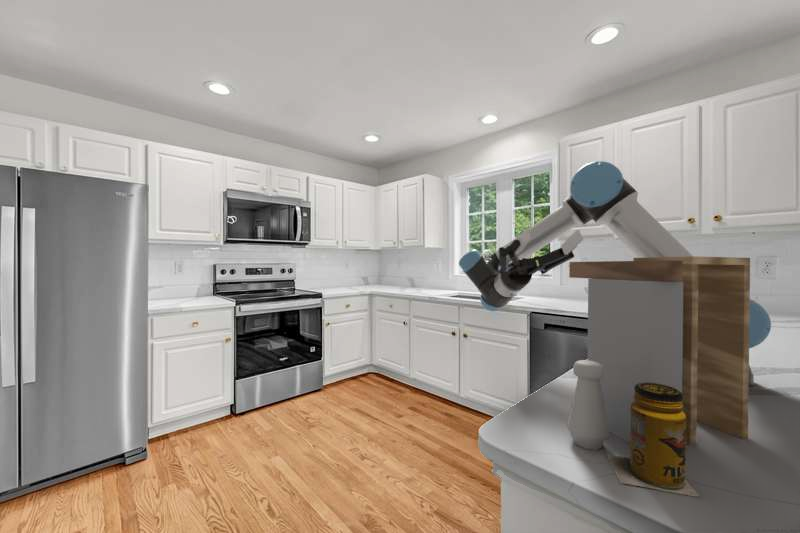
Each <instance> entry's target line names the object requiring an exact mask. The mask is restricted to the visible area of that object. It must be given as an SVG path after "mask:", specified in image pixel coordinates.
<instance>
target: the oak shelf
mask: <svg viewBox="0 0 800 533" xmlns="http://www.w3.org/2000/svg"><path fill="white" fill-rule="evenodd" d="M663 260H667V261H682V282H683V352H682V396H683V398H682V405H683V408H682V411H683V412H684V413H685V415H686V444H688V445H689V446H692V445H697V430H698V428H697V422H698V421H699V422H701V423H703V424H705V425H708V426H711V427H713V428H716V429H718V430H720V431H723V432H725V433H728V434H730V435H733V436H734V437H737V438H740V439H742V440H743V439H749V398H750V397H749V396H750V394H749V393H750V392H749V390H750V388H749V387H750V386H749V365H750V348H749V315H750V299H751V298H750V297H751V296H750V294H751V289H750V288H751V258H750V257H736V256H735V257H733V256H732V257H730V256H729V257H727V256H694V255H692V256H690V257H652V258H638V257H633V260H632V261H663Z"/></svg>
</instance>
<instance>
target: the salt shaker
mask: <svg viewBox="0 0 800 533" xmlns="http://www.w3.org/2000/svg"><path fill="white" fill-rule="evenodd" d="M572 367H573V369H572V370H573V371H572V372H573V375H575V376H576V377H577V378H576V379H577V380H576V384H575V385H576V386H575V389H574V394H573V399H572V403H571V407H570V412H569V417H568V419H567V429H568V431H569V433H570V435H571V438H572V441H573V444H575V445H576V446H579V447H580V448H583V449H584V450H593V451H594V450H595V451H598V450H600V449H601V448H602V447H603V446H604V444H605V443H606V441H607V439H608V437H609V433H610V431H609V429H608V423H607V418H606V412H605V407H604V401H603V396H602V390H601V385H600V379H602V378H603V376H604V368H603V366H602V365H601V364H600V363H597V362H594V361H590V360H587V359H581V360H577V361H575V362H574V363H573V366H572Z"/></svg>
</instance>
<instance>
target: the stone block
mask: <svg viewBox="0 0 800 533" xmlns="http://www.w3.org/2000/svg"><path fill="white" fill-rule="evenodd" d="M587 279H588V282H587V285H588V287H587V289H588V291H587V292H588V293H587V298H588V299H587V355H586V356H587V359H586V360H590V361H594V362H597V363H600V364H601V365H602V366H603V368H604V376H603V378H602V379H600V385H601V390H602V396H603V401H604V407H605V412H606V418H607V423H608V429H609V432H611V433H612V434H615V436H618V437H619V438H621V439H623V440H624V441H627V442H628V443H630V441H631V438H630V437H631V404H632V403H633V402H634V401H635V399H634V394H635V390H634V387H635V385H637V384H638V383H657V384H662V385H666V386H670V387H673V388H675V389H678V390H679V391H680V392H681V393H682V352H683V282H657V281H635V280H614V279H592V278H587Z"/></svg>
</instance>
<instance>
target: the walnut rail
mask: <svg viewBox="0 0 800 533" xmlns="http://www.w3.org/2000/svg"><path fill="white" fill-rule="evenodd" d="M568 275H569V276H568V277H569V278H572V279H575V278H576V279H614V280H635V281H657V282H682V261H667V260H663V261H633V260H620V261H619V260H617V261H616V260H614V261H613V260H612V261H611V260H610V261H608V260H607V261H605V260H603V261H569V274H568Z"/></svg>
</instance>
